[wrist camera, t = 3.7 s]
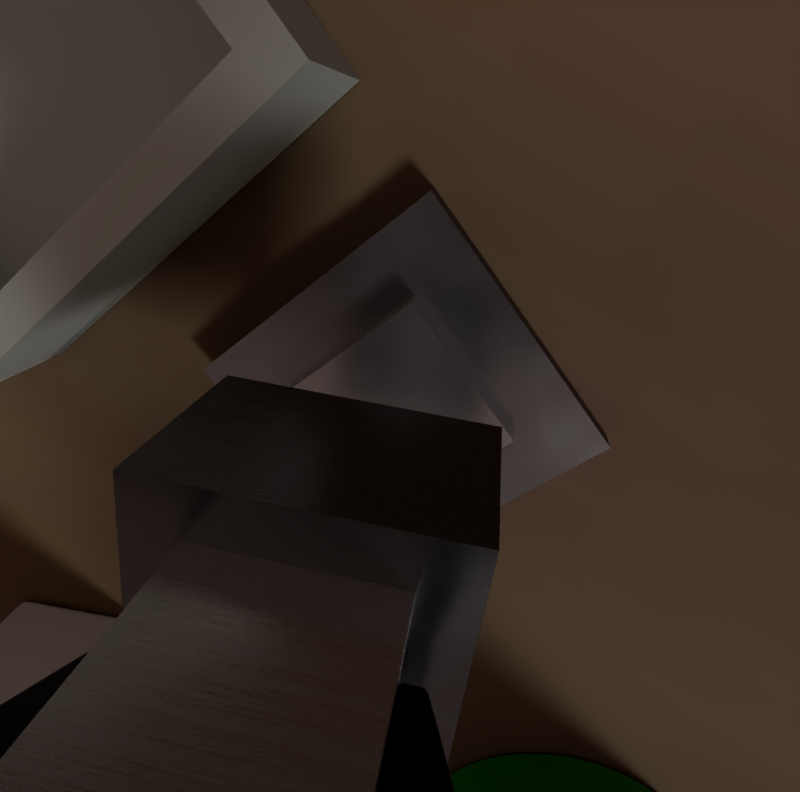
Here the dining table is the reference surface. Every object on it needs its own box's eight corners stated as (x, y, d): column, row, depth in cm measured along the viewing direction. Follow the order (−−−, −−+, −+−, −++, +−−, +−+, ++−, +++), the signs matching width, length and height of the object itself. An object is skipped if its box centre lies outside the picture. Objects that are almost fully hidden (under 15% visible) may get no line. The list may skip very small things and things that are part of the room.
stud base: (434, 187, 15) (427, 192, 14) (605, 434, 17) (614, 460, 15) (215, 360, 18) (190, 378, 16) (380, 555, 20) (371, 587, 18)
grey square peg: (502, 426, 11) (488, 994, 4) (454, 642, 13) (384, 1277, 6) (227, 375, 11) (-265, 783, 4) (224, 589, 13) (-108, 1111, 6)
